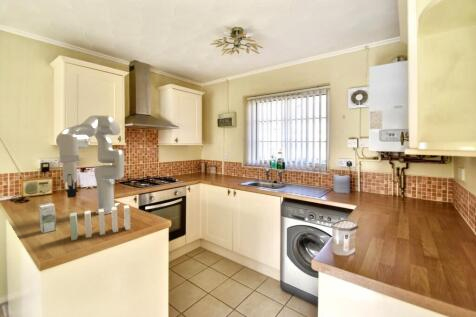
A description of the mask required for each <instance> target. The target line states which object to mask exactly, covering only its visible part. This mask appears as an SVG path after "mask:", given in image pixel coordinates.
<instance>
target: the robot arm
mask: <svg viewBox="0 0 476 317" xmlns="http://www.w3.org/2000/svg"><path fill="white" fill-rule="evenodd" d="M120 134H121V125H120V124H119V123H118V122H117V120H116V119H114V118H113V117H112V116H110V115H95V114H94V115H91V116H89V117H88V118H86V119H85V120H84V122H82V123H80V124H76V125H73V126H70V127H67V128H65V129H63V130H62V131H61V132H60V133H59V134H58V135H56V139H55V140H56V141H55V143H56V145H57V146H58V151H59V152H58V153H59V163H60V164H62V184H64V185H65V184H66V185H67V187H66V188H67V189H66V191H67V192H66V193H67V198H68V199H69V198H76V196H77V188H76V182H77V180H78V178H77V177H78V172H77V171H78V170H77V169H78V168H77V167H78V164H77V163H80V154H79V149H86V148H88V147H89V146H90V144H91V137H95V139H96V141H97V162H99V163H101V164H103V165H98V166H97V167H95V168H94V177H95V180H96V181H95V182H96V194H97V196H96V197H97V209H96V210H95V214H96V215H99V209H104V215H109V214H112V211H111V207H118V206H119V207H120V205H121V203H120V202H117V203H116V202H115V195H114V185H113V183H112V181H111V180H122V179H123V178H124V176H125V154H124V151H123V149H119V148H113V141H112V139H111V138H110V137H109V136H118V135H120ZM114 164H115V165H114Z"/></svg>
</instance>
